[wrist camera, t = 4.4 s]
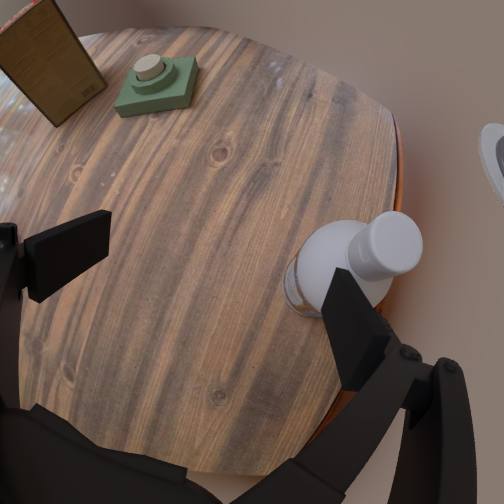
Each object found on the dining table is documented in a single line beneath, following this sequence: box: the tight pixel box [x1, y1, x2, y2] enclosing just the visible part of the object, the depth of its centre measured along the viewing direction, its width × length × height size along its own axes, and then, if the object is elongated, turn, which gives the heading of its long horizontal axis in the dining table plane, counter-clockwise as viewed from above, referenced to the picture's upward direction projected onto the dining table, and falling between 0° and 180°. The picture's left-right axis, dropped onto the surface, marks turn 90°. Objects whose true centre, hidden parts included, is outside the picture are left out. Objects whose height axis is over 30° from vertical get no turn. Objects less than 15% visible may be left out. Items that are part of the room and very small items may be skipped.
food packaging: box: [0, 0, 108, 127], centre depth 30 cm, size 13×9×25 cm
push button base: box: [114, 56, 198, 118], centre depth 38 cm, size 12×10×5 cm
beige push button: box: [134, 54, 164, 81], centre depth 35 cm, size 4×4×2 cm
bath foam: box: [282, 211, 423, 318], centre depth 21 cm, size 7×7×20 cm
